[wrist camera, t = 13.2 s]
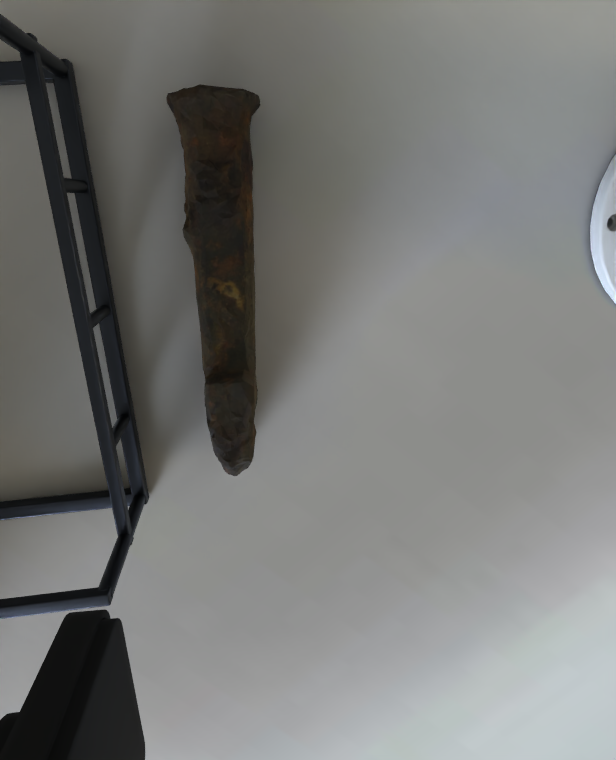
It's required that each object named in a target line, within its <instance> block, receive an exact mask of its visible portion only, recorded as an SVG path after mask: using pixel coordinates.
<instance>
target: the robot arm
mask: <svg viewBox="0 0 616 760" xmlns="http://www.w3.org/2000/svg"><path fill="white" fill-rule="evenodd" d="M607 221H608V223H607ZM590 240H591V253H592V258H593V262H594V266H595V270H596V273H597V275H598V277H599V279H600V281H601V284H602V286H603V288H604V289H605V291H606V292H607V293H608V295H609V296H610V297H611V298H612V300H613V301H614V302H615V303H616V154H615V156H614V157H613V159H612V160H611V162H610V164H609V166H608V168H607V170H606V172H605V174H604V176H603V178H602V180H601V182H600V186H599V189H598V192H597V195H596V198H595V202H594V205H593V211H592V218H591V226H590ZM0 760H145V742H144V736H143V731H142V726H141V720H140V715H139V710H138V705H137V699H136V694H135V689H134V684H133V679H132V673H131V668H130V663H129V658H128V653H127V647H126V642H125V637H124V632H123V626H122V623H121V620H120V619H119V618H115V619H110V615H109V613H108V611H107V610H95V611H84V612H73V613H69V614H67V615H66V616H65V618H64V620H63V622H62V624H61V626H60V628H59V630H58V632H57V634H56V636H55V639H54V641H53V643H52V645H51V647H50V649H49V651H48V653H47V655H46V658H45V660H44V662H43V664H42V666H41V668H40V670H39V672H38V675H37V677H36V679H35V681H34V683H33V685H32V687H31V689H30V691H29V694H28V696H27V698H26V700H25V702H24V704H23V706H22V708H21V711H20V712H16V713H10V714H6V715H5V716H4V717H3V718H2V719H1V720H0Z"/></svg>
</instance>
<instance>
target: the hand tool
mask: <svg viewBox="0 0 616 760" xmlns="http://www.w3.org/2000/svg"><path fill="white" fill-rule="evenodd" d="M167 104H168V105H169V107H170V109H171V111H172V112H173V114H174V116H175V118H176V122H177V124H178V126H179V131H180V134H181V144H182V147H183V149H184V161H185V171H186V176H185V197H186V200H185V204H184V211H185V213H186V221H185V224H184V227H183V234H184V238H185V240H186V242H187V244H188V245H189V247H190V250H191V253H192V255H193V259H194V268H195V281H196V296H197V304H198V312H199V320H200V330H201V340H202V362H203V371H204V375H205V406H206V414H207V423H208V428H209V431H210V435H211V441H212V445H213V450H214V453H215V455H216V456H217V457H218V460H219V461H220V462H221V464H222V466H223V469H224V470H225V472H227V473H228V474H231V475H233V476H237V475H238V474H240V473H241V472H242V471H243V470H244V469H246V468H248V466H249V465H250V463H251V462H252V459H253V454H254V444H255V436H256V429H255V425H254V415H255V408H256V404H257V391H258V390H257V382H256V375H255V369H256V357H255V277H254V262H255V261H254V238H253V216H254V214H253V199H252V190H253V184H252V170H253V161H252V154H251V144H250V122H251V117H252V115H253V114H254V113H255V111H256V110H257V109H258V108H259V106H260V100H259V96H258V95H256V94H254V93H252V92H250V91H247V90H244V89H236V88H225V87H215V86H207V85H201V84H200V85H197V86H195V87H191V88H183V89H181V90H179V91H176V92H172V93H168V95H167Z"/></svg>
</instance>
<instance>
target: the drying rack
mask: <svg viewBox="0 0 616 760" xmlns="http://www.w3.org/2000/svg"><path fill="white" fill-rule="evenodd" d="M0 40H2V41H3V42H5V43H7V44H8V45H10V46H11V47H13V48H14V49H16V50H17V51H19V52H20V57H21V61H10V62H0V85H19V84H26V86H27V91H28V96H29V101H30V106H31V111H32V116H33V121H34V126H35V131H36V135H37V140H38V145H39V150H40V155H41V160H42V165H43V170H44V175H45V180H46V185H47V190H48V194H49V199H50V204H51V209H52V214H53V219H54V224H55V229H56V234H57V239H58V244H59V249H60V253H61V258H62V263H63V268H64V273H65V278H66V283H67V288H68V293H69V298H70V303H71V308H72V312H73V317H74V322H75V327H76V332H77V337H78V342H79V347H80V352H81V357H82V362H83V367H84V371H85V376H86V381H87V386H88V391H89V396H90V401H91V406H92V411H93V416H94V421H95V426H96V430H97V435H98V440H99V445H100V450H101V455H102V460H103V465H104V470H105V475H106V480H107V485H108V489H109V490H108V491H98V492H89V493H80V494H70V495H61V496H52V497H43V498H33V499H24V500H15V501H5V502H0V520H6V519H15V518H24V517H33V516H42V515H51V514H60V513H69V512H78V511H88V510H97V509H106V508H112V509H113V514H114V519H115V524H116V529H117V534H118V538H117V541H116V543H115V546H114V549H113V551H112V554H111V556H110V559H109V561H108V564H107V567H106V569H105V572H104V574H103V577H102V580H101V582H100V585H99V587H98V588H90V589H82V590H73V591H65V592H57V593H49V594H40V595H32V596H24V597H16V598H7V599H0V619H4V618H12V617H20V616H28V615H36V614H44V613H52V612H60V611H68V610H77V609H85V608H93V607H101V606H109V605H110V604H111V601H112V598H113V594H114V591H115V588H116V585H117V582H118V579H119V576H120V573H121V570H122V567H123V564H124V561H125V559H126V556H127V553H128V550H129V547H130V545H132V542H133V539H134V538H133V535H134V532H135V529H136V526H137V523H138V521H139V518H140V515H141V512H142V509H143V506H144V504H147V502H148V499H149V493H148V488H147V482H146V476H145V471H144V465H143V459H142V454H141V448H140V443H139V437H138V431H137V426H136V420H135V414H134V409H133V403H132V398H131V392H130V386H129V381H128V375H127V369H126V364H125V358H124V353H123V347H122V341H121V336H120V330H119V324H118V319H117V313H116V307H115V302H114V296H113V291H112V285H111V279H110V274H109V268H108V262H107V257H106V251H105V246H104V240H103V234H102V229H101V223H100V217H99V212H98V206H97V201H96V195H95V189H94V184H93V178H92V172H91V167H90V161H89V156H88V150H87V144H86V139H85V133H84V127H83V122H82V116H81V111H80V105H79V99H78V94H77V88H76V82H75V76H74V71H73V65H72V63H71V62H70V61H69V60H67V59H59V58H58V57H57V56H55V55H54V54H53V53H51V52H50V51H49V50H47V49H46V48H45V47H43V46H42V45H41V44H39V43H38V42H37V38H36V37H35V36H34V35H33V34H31V33H25V32H24V31H22V30H21V29H20V28H18V27H17V26H16V25H14V24H13V23H12V22H10V21H9V20H8V19H7V18H5V17H4V16H3V15H1V14H0ZM46 83H54V86H55V92H56V97H57V102H58V108H59V113H60V118H61V123H62V129H63V134H64V139H65V145H66V150H67V155H68V160H69V166H70V171H71V176H72V179H69V178H64V176H63V171H62V166H61V161H60V155H59V150H58V145H57V140H56V135H55V130H54V124H53V119H52V114H51V109H50V104H49V98H48V93H47V88H46ZM67 193H75V198H76V203H77V208H78V213H79V219H80V224H81V229H82V235H83V240H84V245H85V250H86V256H87V261H88V266H89V272H90V277H91V282H92V288H93V293H94V298H95V303H96V309H95V310H94V311H93V312H91V313H90V311H89V305H88V300H87V295H86V290H85V285H84V280H83V274H82V269H81V264H80V259H79V254H78V249H77V243H76V238H75V233H74V228H73V223H72V217H71V212H70V207H69V202H68V197H67ZM98 323H99V325H100V330H101V335H102V340H103V346H104V351H105V356H106V362H107V367H108V372H109V378H110V383H111V388H112V393H113V399H114V404H115V409H116V415H117V421H116V423H115V424H114V426H113V428H112V425H111V419H110V414H109V409H108V404H107V399H106V393H105V388H104V383H103V378H102V373H101V368H100V362H99V357H98V352H97V347H96V342H95V337H94V331H93V328H94V327H95V326H96V325H97V324H98ZM120 438H121V441H122V446H123V452H124V457H125V462H126V467H127V473H128V478H129V483H130V488H126V489H124V487H123V481H122V476H121V471H120V466H119V461H118V456H117V450H116V446H117V444H118V442H119V440H120ZM127 506H130V507H129V510H128V507H127Z"/></svg>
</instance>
